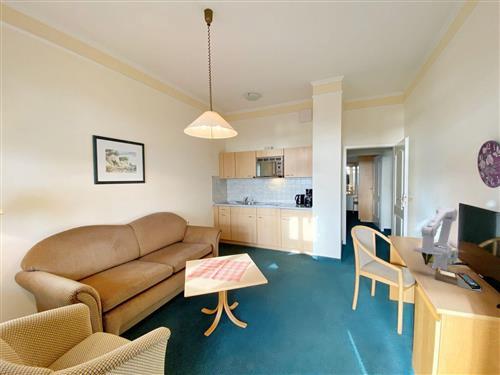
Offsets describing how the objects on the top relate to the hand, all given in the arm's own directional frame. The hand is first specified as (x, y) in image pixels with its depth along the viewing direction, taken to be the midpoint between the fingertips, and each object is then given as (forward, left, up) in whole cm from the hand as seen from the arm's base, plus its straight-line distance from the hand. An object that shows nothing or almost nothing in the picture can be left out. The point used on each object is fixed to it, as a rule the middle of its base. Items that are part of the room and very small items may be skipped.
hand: (426, 264), depth 139 cm
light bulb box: (-38, +12, -7) cm, 41 cm away
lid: (0, +10, -4) cm, 11 cm away
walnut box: (0, +10, -7) cm, 12 cm away
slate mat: (0, +20, -7) cm, 21 cm away
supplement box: (-30, +2, -7) cm, 31 cm away
